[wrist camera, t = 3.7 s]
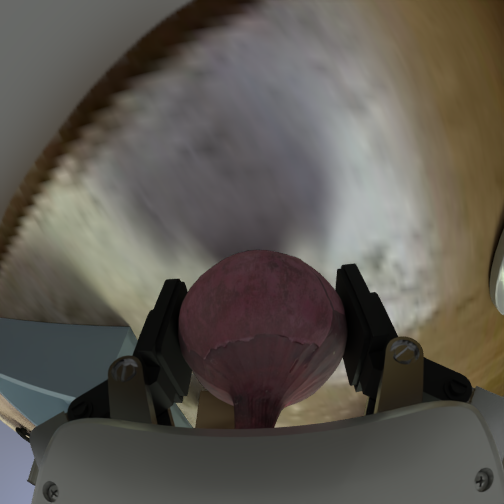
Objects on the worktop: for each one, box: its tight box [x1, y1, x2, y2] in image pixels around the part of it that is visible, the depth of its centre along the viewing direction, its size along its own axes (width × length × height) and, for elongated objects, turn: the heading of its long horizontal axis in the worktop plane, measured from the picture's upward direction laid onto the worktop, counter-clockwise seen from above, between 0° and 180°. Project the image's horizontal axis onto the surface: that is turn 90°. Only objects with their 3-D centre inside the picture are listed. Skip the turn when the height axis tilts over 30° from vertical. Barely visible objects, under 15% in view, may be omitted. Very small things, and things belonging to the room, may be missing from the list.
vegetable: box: [178, 250, 348, 429], centre depth 9 cm, size 6×6×10 cm
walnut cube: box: [195, 391, 235, 429], centre depth 18 cm, size 5×5×5 cm
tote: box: [0, 318, 193, 428], centre depth 18 cm, size 15×18×6 cm
